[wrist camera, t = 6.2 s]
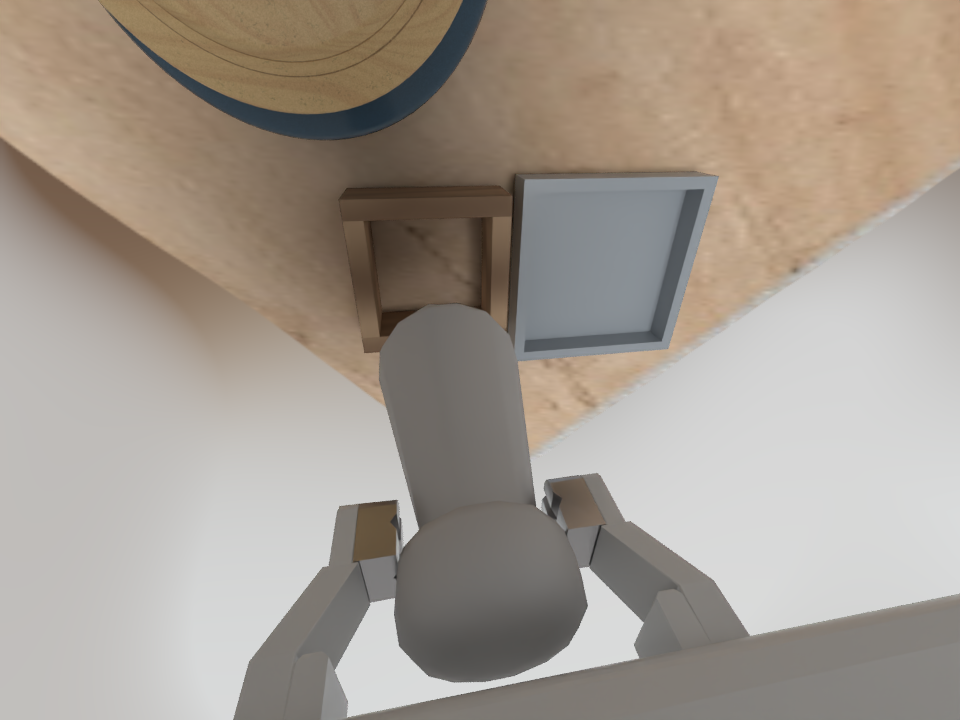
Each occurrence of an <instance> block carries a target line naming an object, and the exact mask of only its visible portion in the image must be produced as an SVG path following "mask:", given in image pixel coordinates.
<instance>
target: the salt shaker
mask: <svg viewBox="0 0 960 720" xmlns="http://www.w3.org/2000/svg"><path fill="white" fill-rule="evenodd" d="M379 381H380V385H381V389H382V393H383V396H384V400H385V404H386V408H387V411H388V415H389V419H390V423H391V426H392V430H393V434H394V437H395V441H396V445H397V449H398V452H399V456H400V460H401V464H402V467H403V471H404V475H405V478H406V482H407V486H408V490H409V493H410V497H411V501H412V505H413V508H414V512H415V515H416V520H417V523H418V527H419V531H418V532H417V533H416V534H415V535H414V536H413V538H412V539H411V540H410V541H409V542H408V543H407V544H406V545H405V547H404V548H403V549H402V552H401V555H400V558H399V560H398V569H397V581H396V595H395V610H394V616H395V622H396V629H397V635H398V642H399V646H400V647H401V648H402V650H403V651H404V652H405V653H406V654H407V655H408V656H409V657H410V658H411V659H412V660H413V661H414V662H415V663H416V664H417V665H418V666H419V667H420V668H421V669H422V670H423V671H424V672H425V673H426V674H427V675H428V676H431V677H434V678H438V679H442V680H446V681H450V682H486V681H491V680H496V679H501V678H506V677H511V676H515V675H517V674H519V673H522V672H524V671H526V670H529V669H531V668H533V667H536V666H538V665H540V664H542V663H545V662H547V661H548V660H550V659H551V658H552V657H554V656H555V655H556V654H557V653H559V652H560V651H561V650H562V649H564V648H565V647H567V646H568V645H569V643H570V641H571V640H572V638H573V636H574V635H575V633H576V631H577V629H578V628H579V626H580V623H581V621H582V618H583V616H584V614H585V612H586V609H587V606H588V605H587V600H586V595H585V590H584V586H583V581H582V577H581V573H580V569H579V566H578V563H577V559H576V556H575V553H574V551H573V549H572V547H571V545H570V543H569V540H568V538H567V536H566V534H565V532H564V530H563V529H562V528H561V526H560V525H559V524H558V523H557V522H556V521H555V520H554V519H552V518H551V517H550V516H548V515H547V514H545V513H544V512H542V511H541V510H539V509H538V508H537V507H536V502H535V494H534V487H533V479H532V472H531V463H530V455H529V447H528V440H527V432H526V424H525V416H524V408H523V401H522V393H521V385H520V377H519V369H518V362H517V358H516V354H515V351H514V348H513V345H512V341H511V338H510V335H509V334H508V333H507V332H506V331H505V330H504V329H503V328H502V327H501V326H500V325H499V324H498V323H497V322H496V321H495V320H494V319H493V318H492V317H491V316H490V315H489V314H488V313H487V312H486V311H483V310H480V309H476V308H473V307H469V306H466V305H462V304H459V303H452V304H442V305H436V304H428V305H426V306H424V307H423V308H421V309H420V310H418V311H416V312H415V313H413V314H412V315H410V316H408V317H407V318H405V319H404V320H402V321H400V322H399V323H398V324H397V325H396V327H395V328H394V330H393V331H392V333H391V334H390V336H389V337H388V339H387V340H386V342H385V343H384V345H383V346H382V349H381V351H380V365H379Z"/></svg>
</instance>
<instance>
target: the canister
mask: <svg viewBox="0 0 960 720" xmlns="http://www.w3.org/2000/svg"><path fill="white" fill-rule="evenodd" d="M98 1H99V2H100V3H101V5H102V6H103V7H104V8H105V9H106V11H107V12H108V13H109V14H110V16H111V17H112V18H113V19H114V21H115V22H116V23H117V24H118V25H119V26H120V27H121V28H122V30H123V31H124V32H125V33H126V34H127V35H128V36H129V37H130V38H131V40H132V41H133V42H134V43H135V44H136V45H137V46H138V47H139V48H140V49H141V50H142V51H143V52H144V53H145V54H146V55H147V56H148V57H149V58H150V59H152V60H153V61H154V62H155V63H156V64H157V65H158V66H159V67H160V68H162V69H163V70H164V71H165V72H166V73H167V74H168V75H170V76H171V77H172V78H173V79H175V80H176V81H177V82H178V83H180V84H181V85H182V86H184V87H185V88H186V89H188V90H189V91H191V92H192V93H193V94H195V95H196V96H198V97H199V98H201V99H202V100H204V101H205V102H207V103H209V104H210V105H212V106H213V107H215V108H217V109H219V110H221V111H222V112H224V113H226V114H228V115H230V116H232V117H234V118H236V119H238V120H240V121H242V122H245V123H247V124H249V125H252V126H255V127H257V128H260V129H263V130H266V131H269V132H273V133H276V134H280V135H284V136H289V137H293V138H300V139H308V140H341V139H349V138H354V137H359V136H364V135H367V134H370V133H374V132H377V131H379V130H382V129H384V128H387V127H389V126H391V125H393V124H395V123H397V122H399V121H401V120H402V119H404V118H405V117H407V116H408V115H410V114H412V113H413V112H414V111H416V110H417V109H418V108H419V107H421V106H422V105H423V104H425V103H426V102H427V101H428V100H429V99H430V98H431V97H432V96H433V95H434V94H435V93H436V92H437V91H438V90H439V89H440V88H441V87H442V85H443V84H444V83H445V82H446V81H447V79H448V78H449V77H450V75H451V74H452V73H453V71H454V70H455V69H456V67H457V65H458V64H459V62H460V61H461V59H462V58H463V56H464V54H465V52H466V51H467V49H468V47H469V45H470V43H471V41H472V39H473V37H474V35H475V33H476V30H477V28H478V26H479V23H480V21H481V18H482V15H483V13H484V10H485V7H486V4H487V0H98Z"/></svg>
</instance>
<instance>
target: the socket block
mask: <svg viewBox="0 0 960 720" xmlns="http://www.w3.org/2000/svg"><path fill="white" fill-rule="evenodd" d="M512 200H513V196H512V195H511V194H510V193H508V192H507V191H506V190H504V189H503V188H502V187H501V186H452V187H398V188H347V189H346V190H345V192H344V193H343V195H342V196H341V197H340V199H339V205H340V211H341V217H342V223H343V229H344V235H345V240H346V246H347V252H348V258H349V264H350V270H351V276H352V282H353V288H354V294H355V300H356V306H357V312H358V318H359V323H360V329H361V335H362V341H363V347H364V353H373V352H380V351H381V349H382V346H383V345H384V343H385V342H386V340H387V339H388V337H389V336H390V334H391V333H392V331H393V330H394V328H395V327H396V325H397V324H398V323H399V322H400V321H402V320H404V319H405V318H407V317H408V316H410V315H412V314H413V313H415V312H416V311H418V310H416V311H400V312H384V313H382V307H381V300H380V292H379V285H378V277H377V270H376V262H375V255H374V247H373V240H372V232H371V225H370V221H378V220H411V219H444V218H478V217H482V272H481V307H473V308H476V309H480V310H483V311H486V312H487V313H488V314H489V315H490V316H491V317H492V318H493V319H494V320H495V321H496V322H497V323H498V324H499V325H500V326H501V327H502V328H503V329H504V330H505V331H506V329H507V307H508V286H509V264H510V243H511V221H512Z"/></svg>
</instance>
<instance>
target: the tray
mask: <svg viewBox="0 0 960 720" xmlns="http://www.w3.org/2000/svg"><path fill="white" fill-rule="evenodd" d="M718 177H719V176H715V175H710V174H705V173H701V172H635V173H568V174H515V194H514V215H513V235H512V256H511V276H510V297H509V317H508V334H509V335H510V338H511V341H512V345H513V348H514V351H515V354H516V358H517V361H527V360H539V359H552V358H564V357H576V356H588V355H600V354H613V353H625V352H637V351H649V350H661V349H668V348H669V344H670V341H671V337H672V334H673V331H674V327H675V324H676V320H677V317H678V314H679V310H680V307H681V303H682V300H683V297H684V293H685V290H686V286H687V283H688V279H689V276H690V273H691V269H692V266H693V262H694V259H695V256H696V252H697V249H698V245H699V242H700V239H701V235H702V232H703V228H704V225H705V222H706V218H707V215H708V211H709V208H710V204H711V201H712V198H713V194H714V191H715V187H716V184H717V181H718Z"/></svg>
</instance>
